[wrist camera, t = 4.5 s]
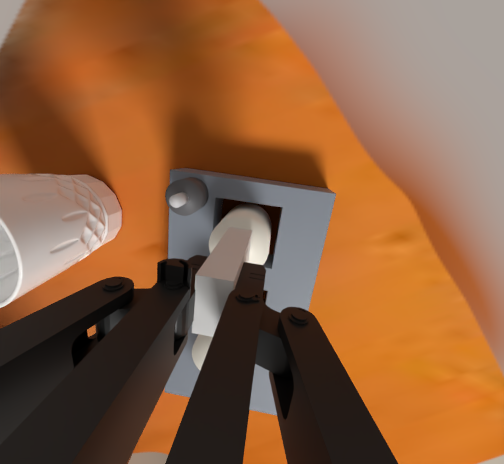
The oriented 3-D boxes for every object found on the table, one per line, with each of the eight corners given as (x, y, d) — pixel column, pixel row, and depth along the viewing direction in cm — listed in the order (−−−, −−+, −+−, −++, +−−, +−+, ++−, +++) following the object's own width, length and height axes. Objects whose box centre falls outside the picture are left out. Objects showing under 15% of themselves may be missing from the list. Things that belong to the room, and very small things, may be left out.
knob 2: (222, 244, 21) (206, 269, 17) (227, 199, 20) (211, 213, 15) (267, 251, 21) (264, 279, 16) (275, 206, 20) (273, 223, 15)
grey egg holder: (176, 367, 27) (148, 425, 22) (185, 167, 21) (147, 172, 15) (282, 388, 27) (283, 454, 21) (328, 188, 20) (348, 202, 14)
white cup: (35, 179, 22) (-144, 197, 13) (108, 156, 21) (-33, 157, 12) (73, 256, 25) (-57, 320, 15) (142, 240, 23) (46, 299, 14)
